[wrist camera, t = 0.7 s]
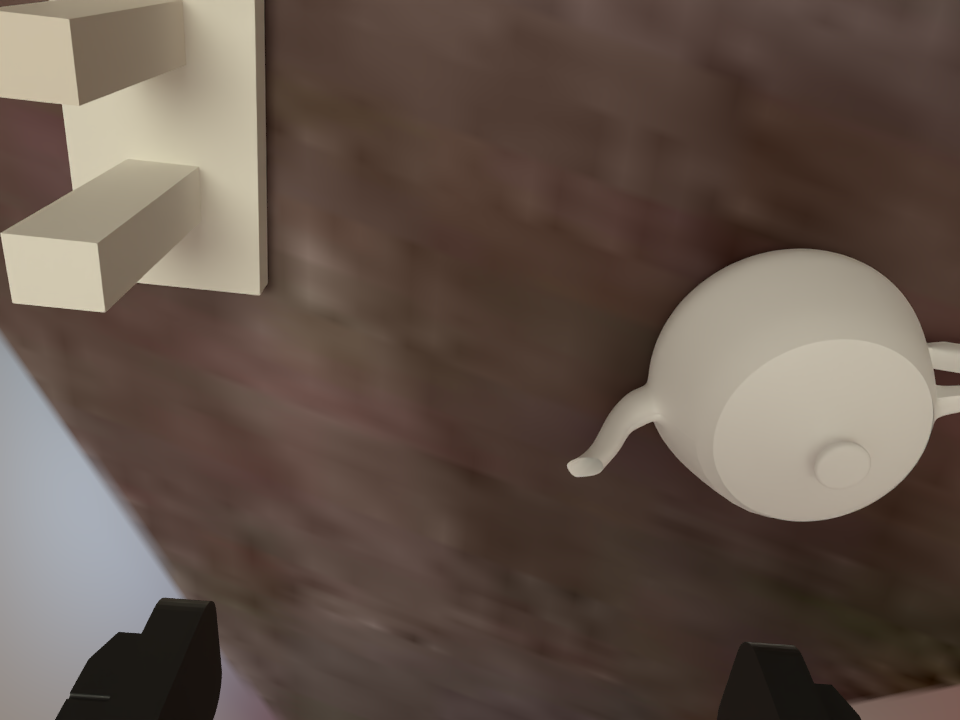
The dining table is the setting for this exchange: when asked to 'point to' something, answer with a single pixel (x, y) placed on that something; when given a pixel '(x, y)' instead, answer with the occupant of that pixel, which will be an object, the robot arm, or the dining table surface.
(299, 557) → the dining table surface
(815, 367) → the teapot
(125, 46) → the display stand
